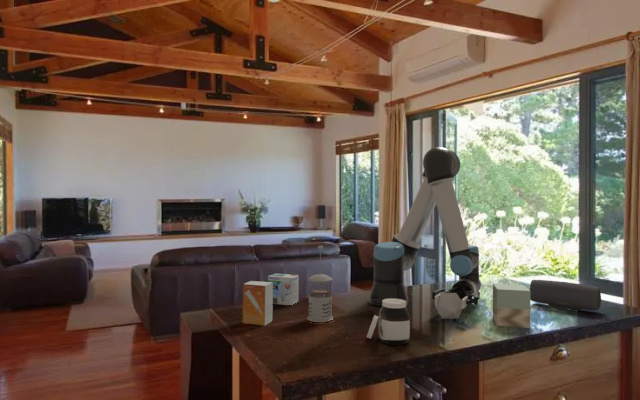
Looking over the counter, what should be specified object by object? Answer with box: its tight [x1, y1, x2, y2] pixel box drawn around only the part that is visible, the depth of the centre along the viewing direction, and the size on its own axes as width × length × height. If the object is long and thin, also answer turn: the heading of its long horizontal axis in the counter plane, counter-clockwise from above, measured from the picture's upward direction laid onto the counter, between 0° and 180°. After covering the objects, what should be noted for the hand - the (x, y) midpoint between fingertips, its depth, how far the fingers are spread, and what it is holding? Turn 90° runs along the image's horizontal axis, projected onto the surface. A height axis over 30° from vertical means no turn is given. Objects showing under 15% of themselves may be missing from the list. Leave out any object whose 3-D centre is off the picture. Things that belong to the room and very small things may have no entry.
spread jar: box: [366, 298, 411, 346], centre depth 133 cm, size 12×11×12 cm
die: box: [434, 293, 463, 320], centre depth 154 cm, size 8×9×10 cm
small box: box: [242, 280, 274, 327], centre depth 151 cm, size 8×6×13 cm
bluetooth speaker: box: [529, 279, 602, 311], centre depth 173 cm, size 23×9×10 cm, turn 49°
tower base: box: [492, 301, 531, 329], centre depth 153 cm, size 10×10×6 cm
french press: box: [306, 245, 334, 322], centre depth 156 cm, size 10×12×25 cm
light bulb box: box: [267, 273, 300, 306], centre depth 179 cm, size 11×7×11 cm, turn 68°
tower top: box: [492, 283, 531, 311], centre depth 153 cm, size 10×10×6 cm
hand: (449, 302), depth 150 cm, fingers closed on die, 8 cm apart
